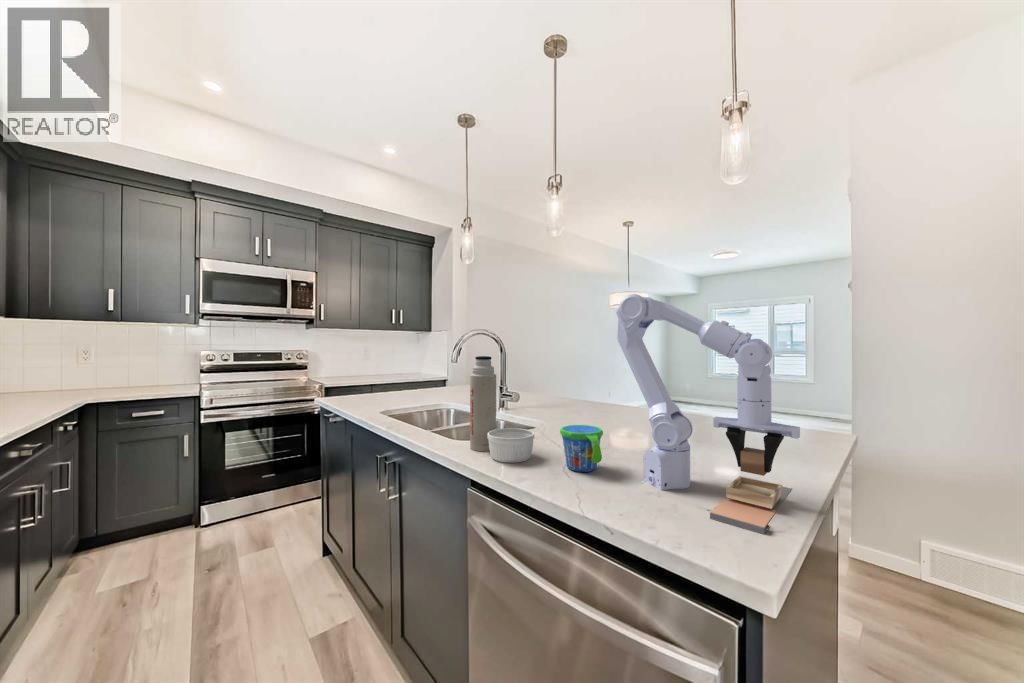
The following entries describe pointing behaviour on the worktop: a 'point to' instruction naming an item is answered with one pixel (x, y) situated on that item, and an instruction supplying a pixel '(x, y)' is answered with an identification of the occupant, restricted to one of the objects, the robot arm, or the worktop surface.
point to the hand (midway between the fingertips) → (754, 468)
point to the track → (747, 513)
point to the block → (753, 461)
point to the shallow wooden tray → (754, 492)
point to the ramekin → (510, 444)
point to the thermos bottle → (482, 403)
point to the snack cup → (582, 447)
